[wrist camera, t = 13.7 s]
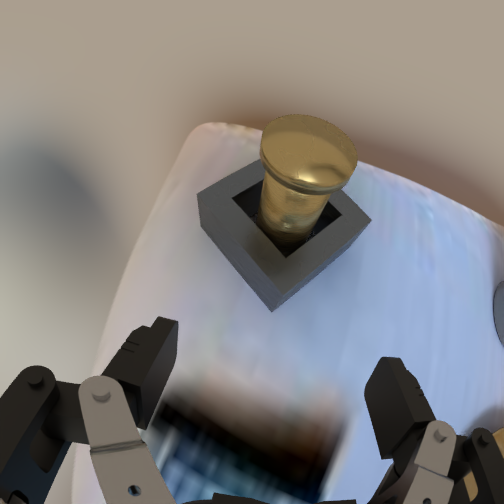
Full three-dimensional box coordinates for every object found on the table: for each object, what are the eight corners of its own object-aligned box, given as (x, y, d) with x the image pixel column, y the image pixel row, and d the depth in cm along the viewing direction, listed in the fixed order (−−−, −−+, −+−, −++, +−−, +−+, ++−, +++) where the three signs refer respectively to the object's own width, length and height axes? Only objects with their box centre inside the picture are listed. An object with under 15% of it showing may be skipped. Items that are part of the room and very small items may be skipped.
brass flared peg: (279, 207, 25) (308, 105, 15) (318, 248, 24) (374, 158, 14) (233, 237, 23) (241, 133, 13) (274, 284, 22) (313, 200, 12)
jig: (281, 177, 26) (290, 143, 22) (349, 246, 24) (371, 220, 20) (200, 226, 24) (196, 193, 19) (271, 312, 21) (283, 295, 17)
